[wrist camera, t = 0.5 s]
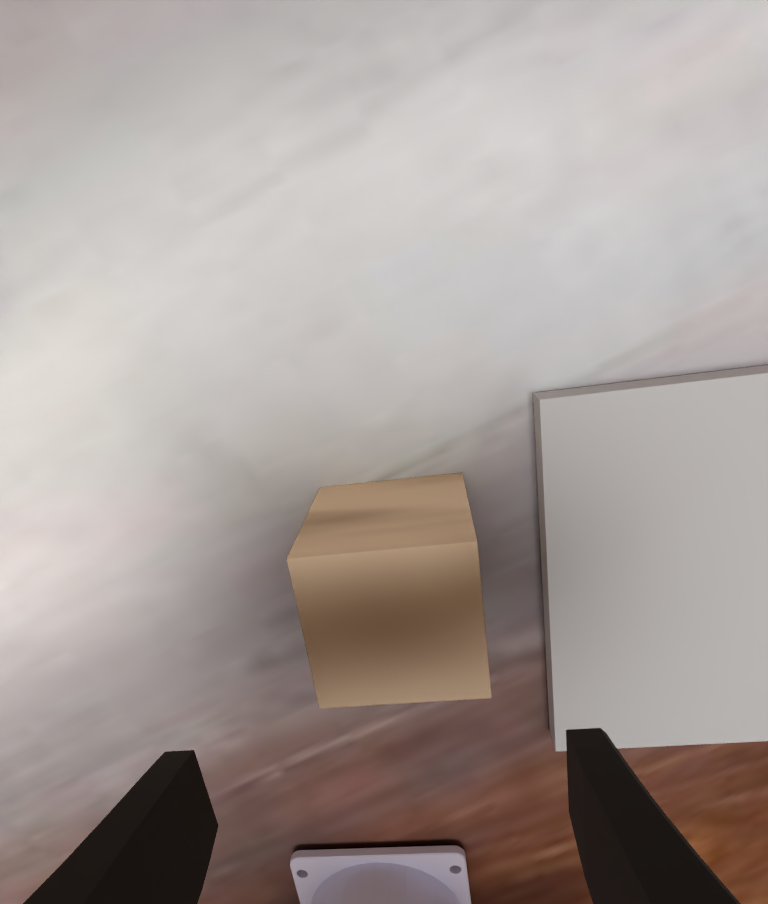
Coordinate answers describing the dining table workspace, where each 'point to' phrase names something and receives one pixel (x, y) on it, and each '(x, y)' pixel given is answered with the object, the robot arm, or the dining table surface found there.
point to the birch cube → (391, 593)
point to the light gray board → (656, 557)
